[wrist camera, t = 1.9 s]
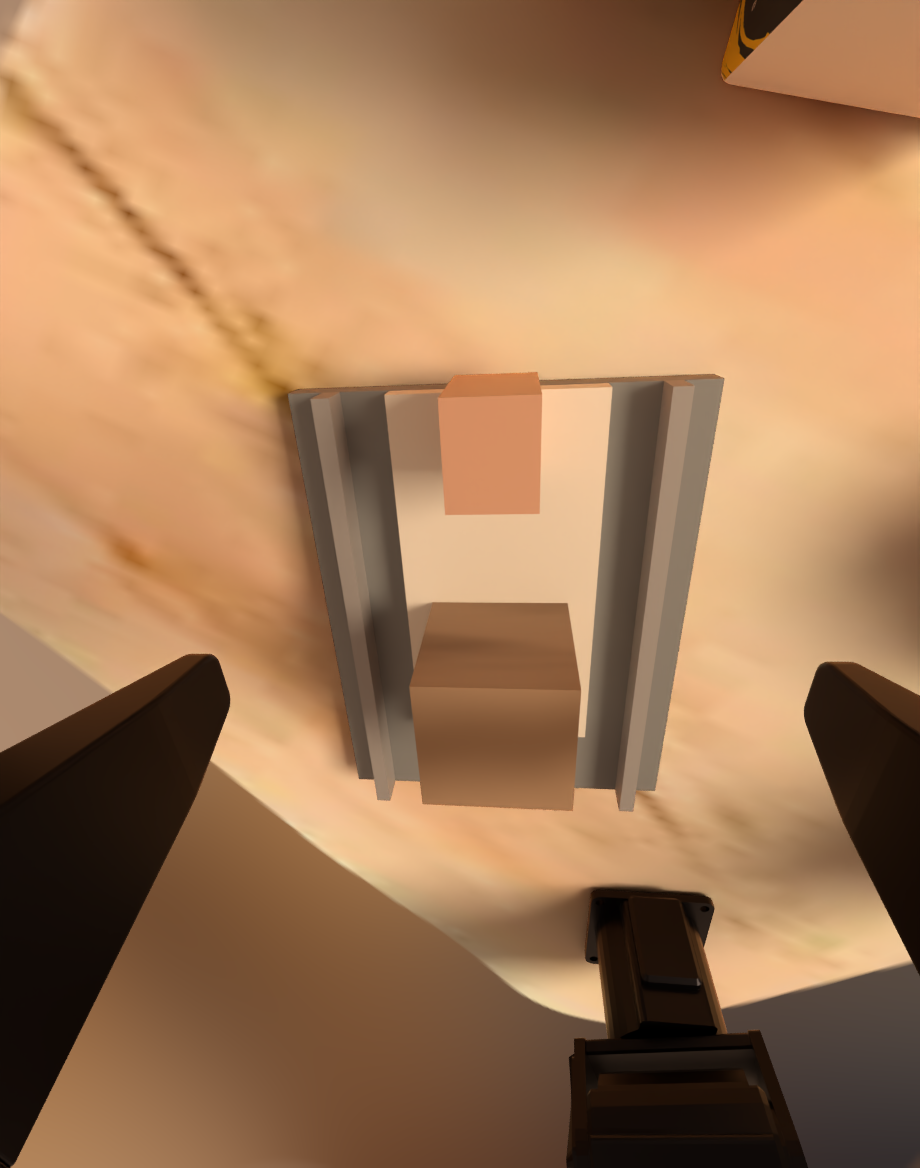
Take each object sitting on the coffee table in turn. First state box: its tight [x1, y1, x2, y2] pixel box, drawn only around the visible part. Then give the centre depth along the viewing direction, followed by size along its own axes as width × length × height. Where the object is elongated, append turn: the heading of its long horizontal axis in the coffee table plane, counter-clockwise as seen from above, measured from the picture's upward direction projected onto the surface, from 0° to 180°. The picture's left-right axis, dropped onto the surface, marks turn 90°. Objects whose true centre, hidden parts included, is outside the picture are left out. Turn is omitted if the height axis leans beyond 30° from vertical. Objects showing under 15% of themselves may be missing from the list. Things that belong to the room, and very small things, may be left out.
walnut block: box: [409, 602, 581, 811], centre depth 19 cm, size 5×5×5 cm
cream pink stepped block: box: [384, 372, 612, 737], centre depth 19 cm, size 14×7×5 cm, turn 3°
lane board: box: [288, 374, 724, 811], centre depth 22 cm, size 18×14×2 cm
